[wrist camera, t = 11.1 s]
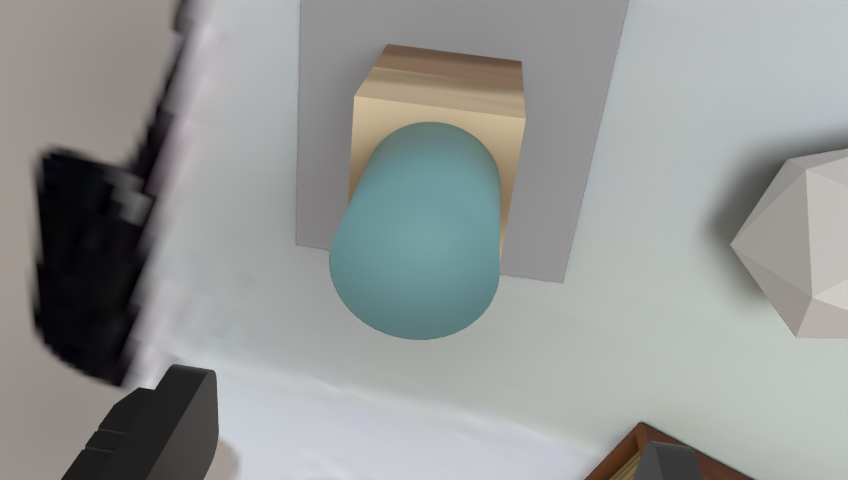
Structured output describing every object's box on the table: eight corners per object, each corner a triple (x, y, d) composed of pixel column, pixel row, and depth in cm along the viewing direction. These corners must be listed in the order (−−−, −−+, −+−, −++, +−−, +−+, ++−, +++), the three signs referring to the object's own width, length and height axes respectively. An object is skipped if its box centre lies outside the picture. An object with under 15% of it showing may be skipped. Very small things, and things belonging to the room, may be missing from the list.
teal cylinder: (369, 112, 25) (333, 180, 20) (511, 131, 25) (512, 205, 19) (360, 237, 27) (326, 326, 22) (489, 255, 27) (485, 350, 22)
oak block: (373, 66, 28) (354, 95, 25) (523, 86, 28) (525, 118, 24) (363, 202, 31) (345, 245, 28) (499, 221, 31) (499, 267, 27)
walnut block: (387, 43, 32) (372, 66, 28) (521, 61, 31) (523, 86, 28) (377, 167, 35) (363, 202, 31) (500, 184, 34) (499, 221, 31)
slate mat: (305, -91, 30) (302, -90, 29) (638, -49, 29) (640, -48, 29) (298, 240, 38) (295, 245, 37) (561, 278, 37) (562, 283, 37)
